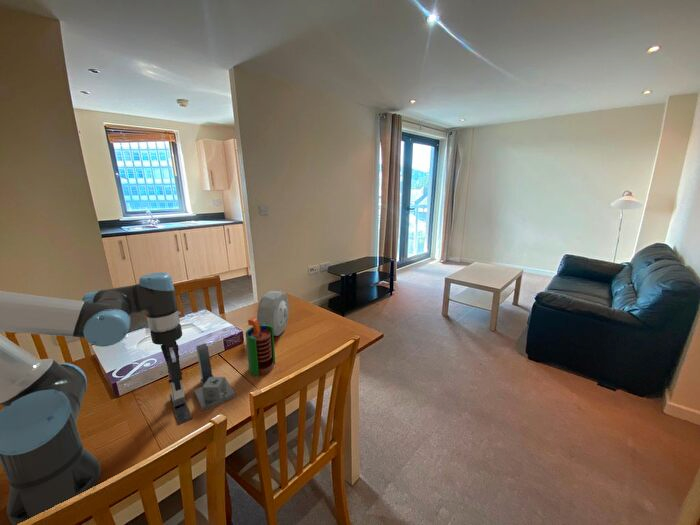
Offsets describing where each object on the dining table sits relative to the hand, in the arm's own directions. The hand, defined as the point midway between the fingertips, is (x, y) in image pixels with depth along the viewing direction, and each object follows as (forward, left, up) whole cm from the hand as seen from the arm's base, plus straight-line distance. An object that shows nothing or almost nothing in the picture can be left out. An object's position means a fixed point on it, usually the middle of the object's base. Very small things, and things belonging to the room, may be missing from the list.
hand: (179, 397), depth 90 cm
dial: (+44, +26, -5) cm, 52 cm away
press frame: (+6, +3, -5) cm, 9 cm away
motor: (+28, +5, -5) cm, 29 cm away
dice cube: (+10, -1, -4) cm, 10 cm away
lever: (0, +4, -5) cm, 7 cm away
